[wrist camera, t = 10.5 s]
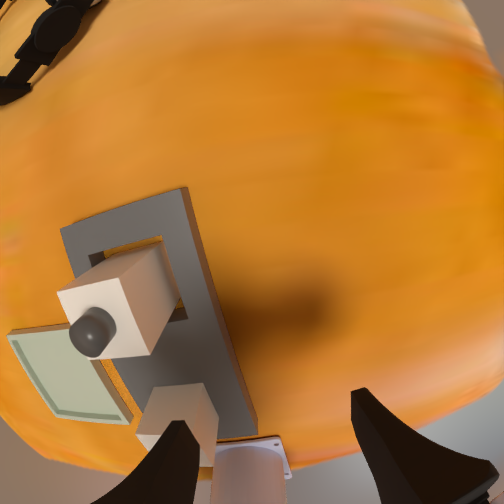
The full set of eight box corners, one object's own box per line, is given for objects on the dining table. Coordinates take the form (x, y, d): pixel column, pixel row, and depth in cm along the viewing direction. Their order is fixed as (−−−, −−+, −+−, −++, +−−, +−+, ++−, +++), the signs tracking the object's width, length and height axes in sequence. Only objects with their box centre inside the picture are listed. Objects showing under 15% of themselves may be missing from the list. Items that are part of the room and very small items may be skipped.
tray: (133, 416, 22) (130, 424, 21) (60, 410, 23) (55, 417, 22) (80, 321, 19) (73, 328, 18) (12, 330, 20) (6, 335, 19)
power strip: (257, 418, 22) (260, 498, 14) (166, 426, 22) (146, 496, 14) (187, 187, 17) (133, 197, 9) (75, 223, 17) (-9, 255, 9)
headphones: (137, -86, 4) (-45, 152, 10) (175, -32, 12) (20, 143, 17) (59, -96, 1) (-62, 58, 6) (92, -69, 8) (-18, 61, 14)
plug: (180, 296, 19) (140, 375, 11) (131, 305, 19) (75, 377, 11) (163, 240, 18) (101, 291, 10) (113, 254, 18) (38, 304, 10)
